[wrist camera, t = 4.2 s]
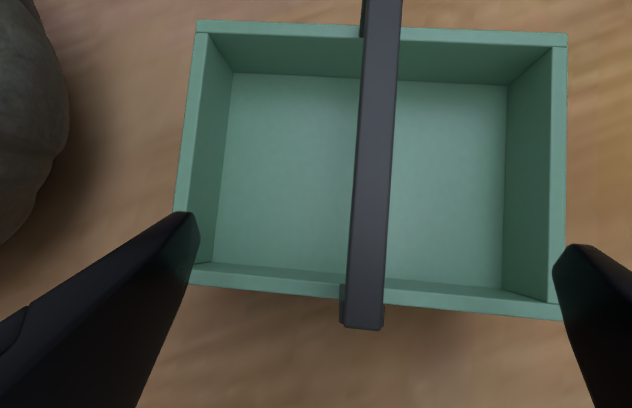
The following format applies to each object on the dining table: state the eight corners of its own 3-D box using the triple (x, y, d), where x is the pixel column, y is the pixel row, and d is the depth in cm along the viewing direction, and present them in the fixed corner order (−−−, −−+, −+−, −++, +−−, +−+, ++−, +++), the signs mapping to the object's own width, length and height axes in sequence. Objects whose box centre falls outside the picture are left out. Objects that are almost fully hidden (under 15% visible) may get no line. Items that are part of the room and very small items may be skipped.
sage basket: (507, 300, 16) (676, 363, 8) (203, 271, 17) (87, 301, 9) (514, 80, 17) (668, -57, 9) (227, 67, 18) (141, -66, 10)
